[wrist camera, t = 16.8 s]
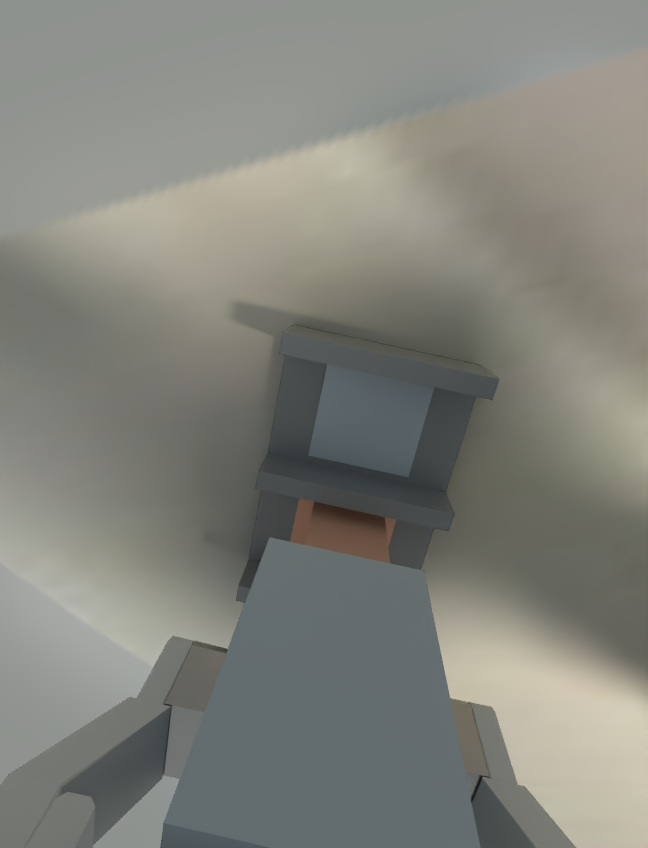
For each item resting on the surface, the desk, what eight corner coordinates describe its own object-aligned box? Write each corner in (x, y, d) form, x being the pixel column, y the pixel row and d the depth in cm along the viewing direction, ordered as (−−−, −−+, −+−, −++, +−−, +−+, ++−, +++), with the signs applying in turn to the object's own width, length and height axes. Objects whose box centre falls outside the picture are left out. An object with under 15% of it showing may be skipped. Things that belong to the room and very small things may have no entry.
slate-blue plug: (423, 570, 12) (490, 898, 5) (386, 690, 13) (408, 1068, 7) (269, 537, 12) (163, 822, 6) (247, 659, 13) (141, 1003, 7)
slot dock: (479, 365, 24) (499, 379, 21) (406, 597, 29) (412, 639, 25) (293, 324, 24) (282, 332, 21) (250, 563, 29) (236, 600, 26)
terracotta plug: (384, 512, 26) (392, 586, 20) (368, 571, 27) (370, 658, 21) (314, 497, 26) (301, 566, 20) (301, 557, 27) (284, 639, 21)
